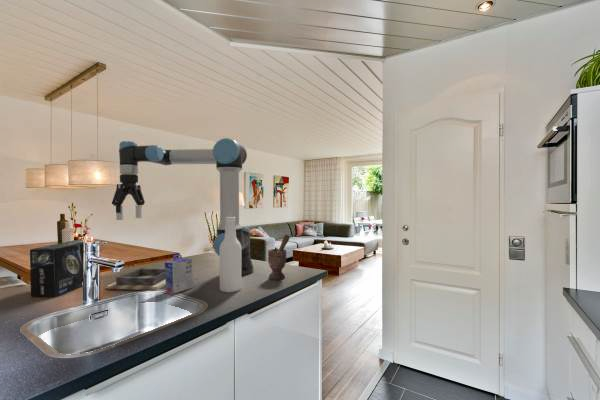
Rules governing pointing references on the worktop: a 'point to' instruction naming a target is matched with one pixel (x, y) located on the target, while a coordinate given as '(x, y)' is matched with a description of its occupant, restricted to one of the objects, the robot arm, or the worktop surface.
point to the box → (56, 269)
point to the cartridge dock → (141, 280)
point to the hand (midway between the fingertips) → (129, 219)
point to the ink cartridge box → (178, 274)
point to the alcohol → (230, 259)
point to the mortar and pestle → (278, 260)
